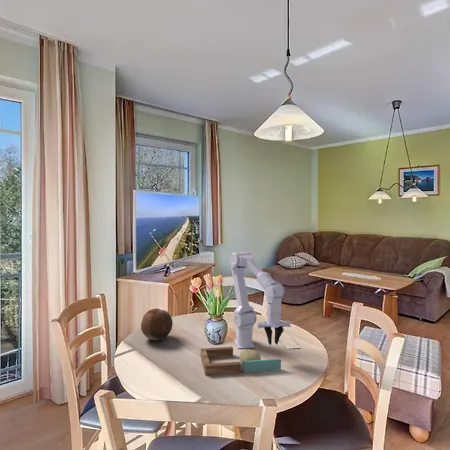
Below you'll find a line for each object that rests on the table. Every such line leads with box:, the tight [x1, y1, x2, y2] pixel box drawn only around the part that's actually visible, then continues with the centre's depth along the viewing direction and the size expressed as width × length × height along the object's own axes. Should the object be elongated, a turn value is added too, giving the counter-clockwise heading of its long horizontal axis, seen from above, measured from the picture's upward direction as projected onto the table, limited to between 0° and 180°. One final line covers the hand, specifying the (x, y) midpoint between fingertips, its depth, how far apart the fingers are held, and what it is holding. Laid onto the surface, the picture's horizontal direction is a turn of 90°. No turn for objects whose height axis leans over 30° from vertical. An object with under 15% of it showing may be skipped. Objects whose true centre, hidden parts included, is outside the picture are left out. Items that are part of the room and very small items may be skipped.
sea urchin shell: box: [238, 348, 262, 363], centre depth 139 cm, size 9×8×8 cm
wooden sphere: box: [140, 307, 173, 341], centre depth 160 cm, size 15×15×15 cm
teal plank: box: [240, 358, 282, 373], centre depth 132 cm, size 17×1×4 cm, turn 101°
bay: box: [200, 346, 242, 376], centre depth 137 cm, size 16×14×4 cm
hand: (272, 343), depth 141 cm, fingers open, 2 cm apart
